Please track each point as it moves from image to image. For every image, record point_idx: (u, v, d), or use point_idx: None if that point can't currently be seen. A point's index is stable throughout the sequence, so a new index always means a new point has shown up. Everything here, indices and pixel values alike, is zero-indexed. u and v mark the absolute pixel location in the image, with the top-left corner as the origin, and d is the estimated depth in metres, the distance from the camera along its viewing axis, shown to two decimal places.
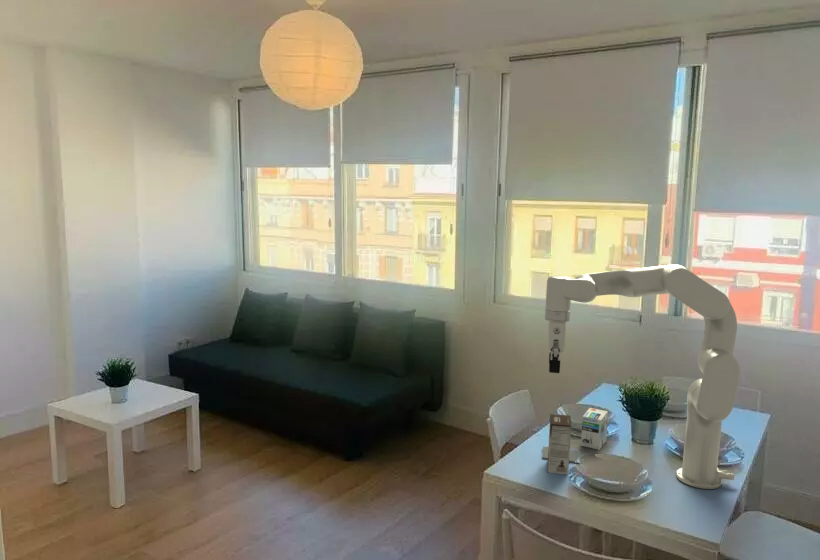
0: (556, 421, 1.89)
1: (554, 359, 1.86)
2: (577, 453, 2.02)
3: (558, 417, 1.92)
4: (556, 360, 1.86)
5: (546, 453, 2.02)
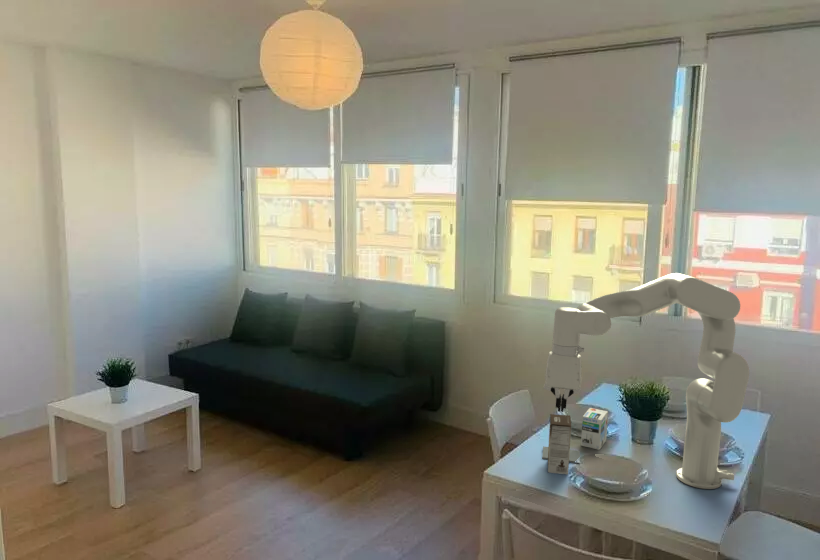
0: (556, 421, 1.89)
1: None
2: (577, 453, 2.02)
3: (558, 416, 1.92)
4: None
5: (546, 453, 2.02)
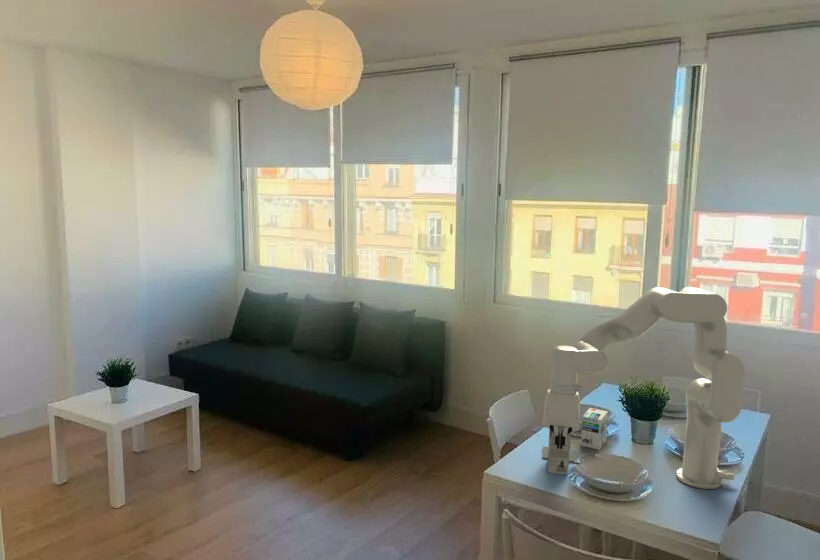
0: None
1: None
2: (577, 453, 2.02)
3: None
4: None
5: (546, 453, 2.02)
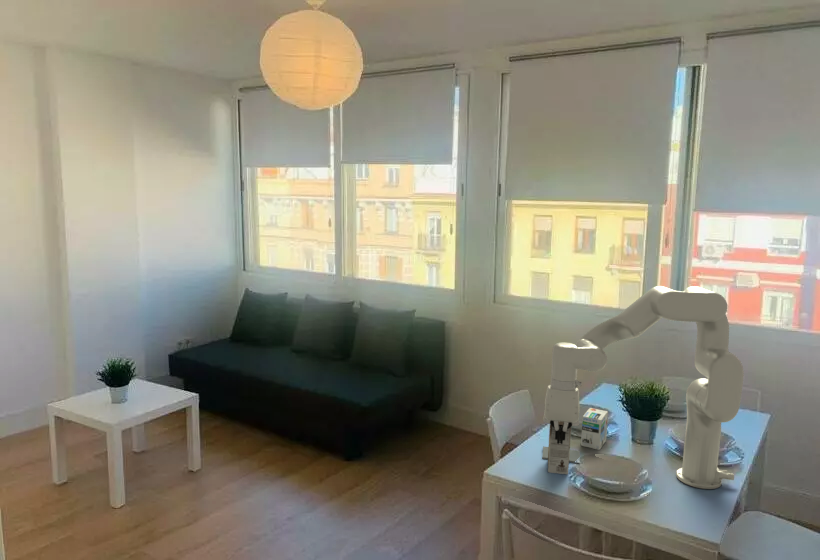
0: None
1: None
2: (577, 453, 2.02)
3: None
4: None
5: (546, 453, 2.02)
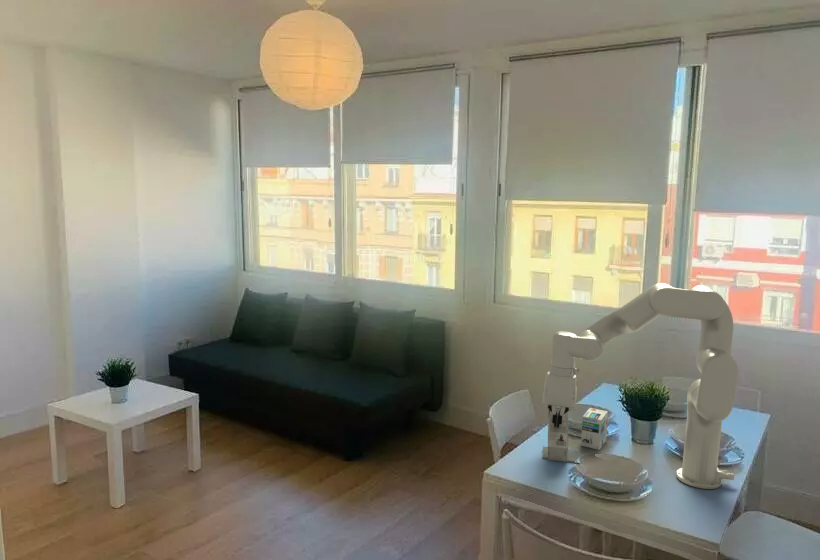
0: None
1: None
2: (577, 453, 2.02)
3: None
4: None
5: (546, 453, 2.02)
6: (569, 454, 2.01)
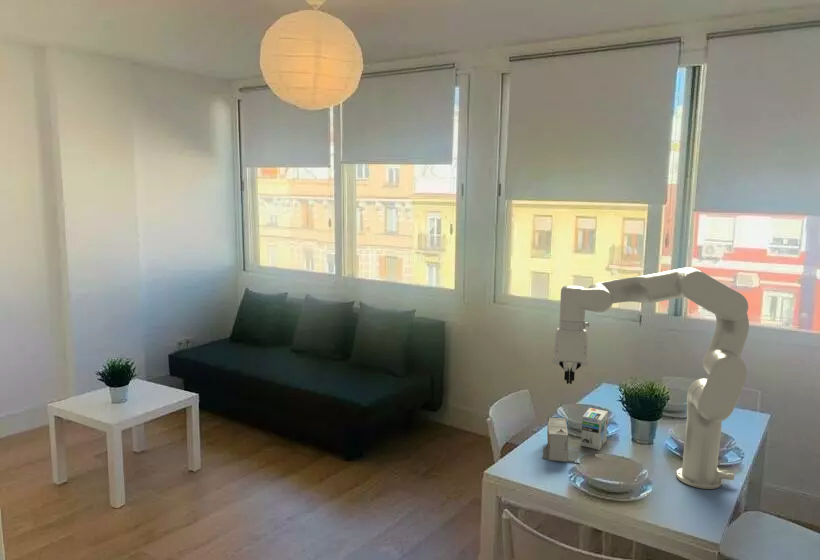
0: None
1: None
2: (577, 453, 2.02)
3: None
4: None
5: (546, 453, 2.02)
6: (569, 454, 2.01)
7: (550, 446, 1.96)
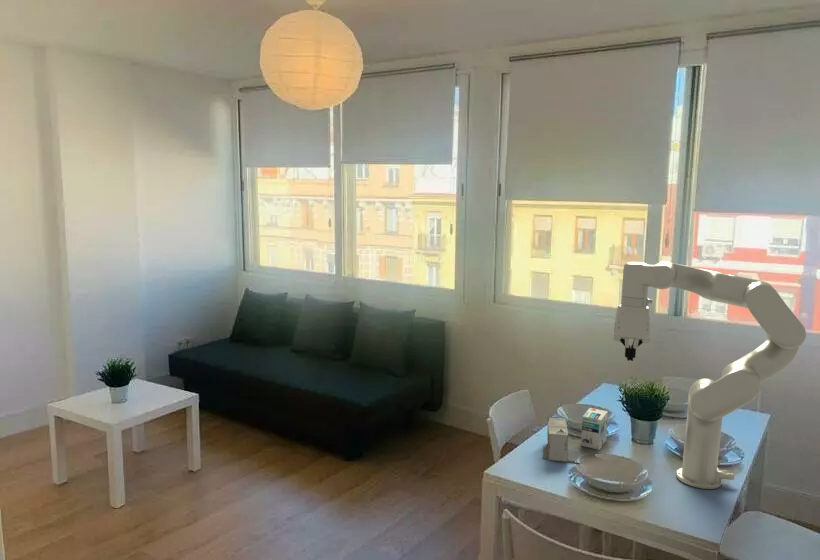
0: None
1: None
2: (577, 453, 2.02)
3: None
4: None
5: (546, 453, 2.02)
6: (569, 454, 2.01)
7: (550, 446, 1.96)
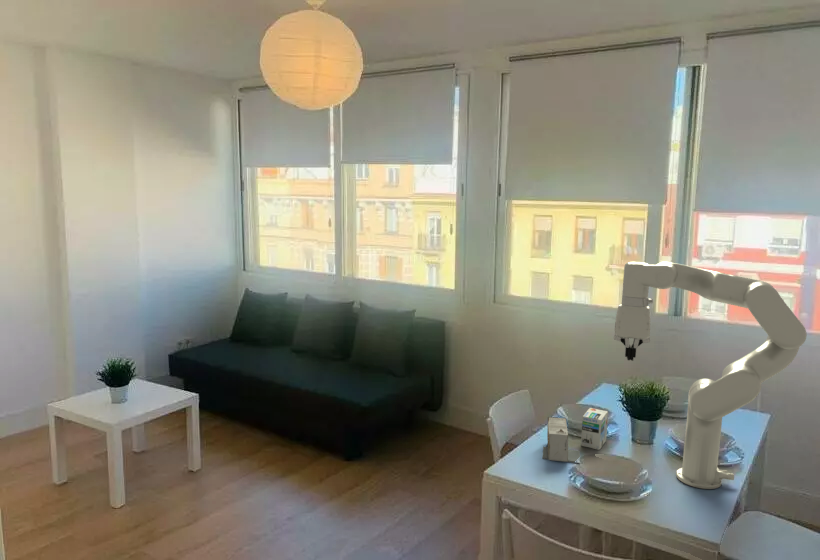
0: None
1: None
2: (577, 453, 2.02)
3: None
4: None
5: (546, 453, 2.02)
6: (569, 454, 2.01)
7: (550, 446, 1.96)
